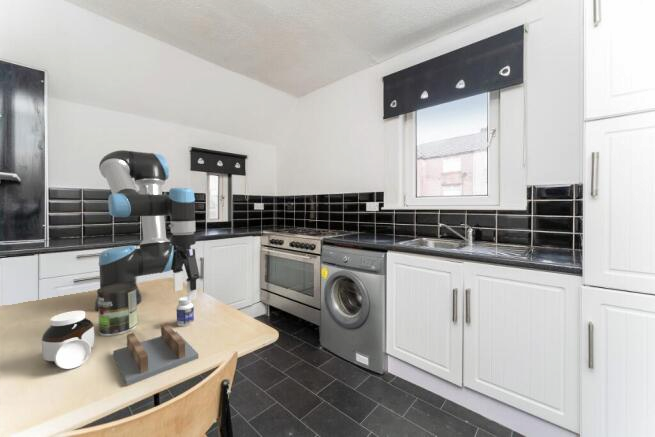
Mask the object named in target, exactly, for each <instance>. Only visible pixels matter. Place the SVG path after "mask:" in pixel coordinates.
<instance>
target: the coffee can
mask: <svg viewBox="0 0 655 437" xmlns="http://www.w3.org/2000/svg"><path fill="white" fill-rule="evenodd" d="M136 284H137V283H136ZM136 284H134V283H119V284H112V285H108V286H104V287H102V288H100V287H99V288H98V289H97V290H96V293H97V297H98V309H99V311H98V329H99V332H98V334H99V335H100V336H102V337H103V336H104V337H114V336H118V335H123V334H128V333H129V332H131V331H133V330H135V329H136V328H137V327H138V312H137V310H138V309H137V308H138V306H137V305H138V304H137V302H136V287H138V285H136Z"/></svg>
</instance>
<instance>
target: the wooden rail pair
mask: <svg viewBox="0 0 655 437" xmlns="http://www.w3.org/2000/svg"><path fill="white" fill-rule="evenodd" d="M160 331H161V332H160V334H161V335H160V336H161V338H162V339H163V340H164V341H165V342H166V344H167V345H168V346H169V347H170V349H171V350H172V351H173V352H174V353H175V355H176V356H177V357H178V358H179V359H181V358H183V357H185V342H184V341H183V340H182V339H181V338H180V337H179V336H178V335H177V333H176V331H175V330H174V329H173V328H172V327H171V326H170V324H168V323H167V322H165V323H162V324H160ZM126 347H127V349H128V350H129V352H130V354H131V356H132V358H133V360H134V362H135V363H136V365H137V367H138V369H139V371H140V373H143V372H146V371H148V355H147V353H146V352H145V350H144V348H143V347H142V345H141V344H140V341H139V340H138V338H137V336H136V335H135V333H134V332H131V333H126Z"/></svg>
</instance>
